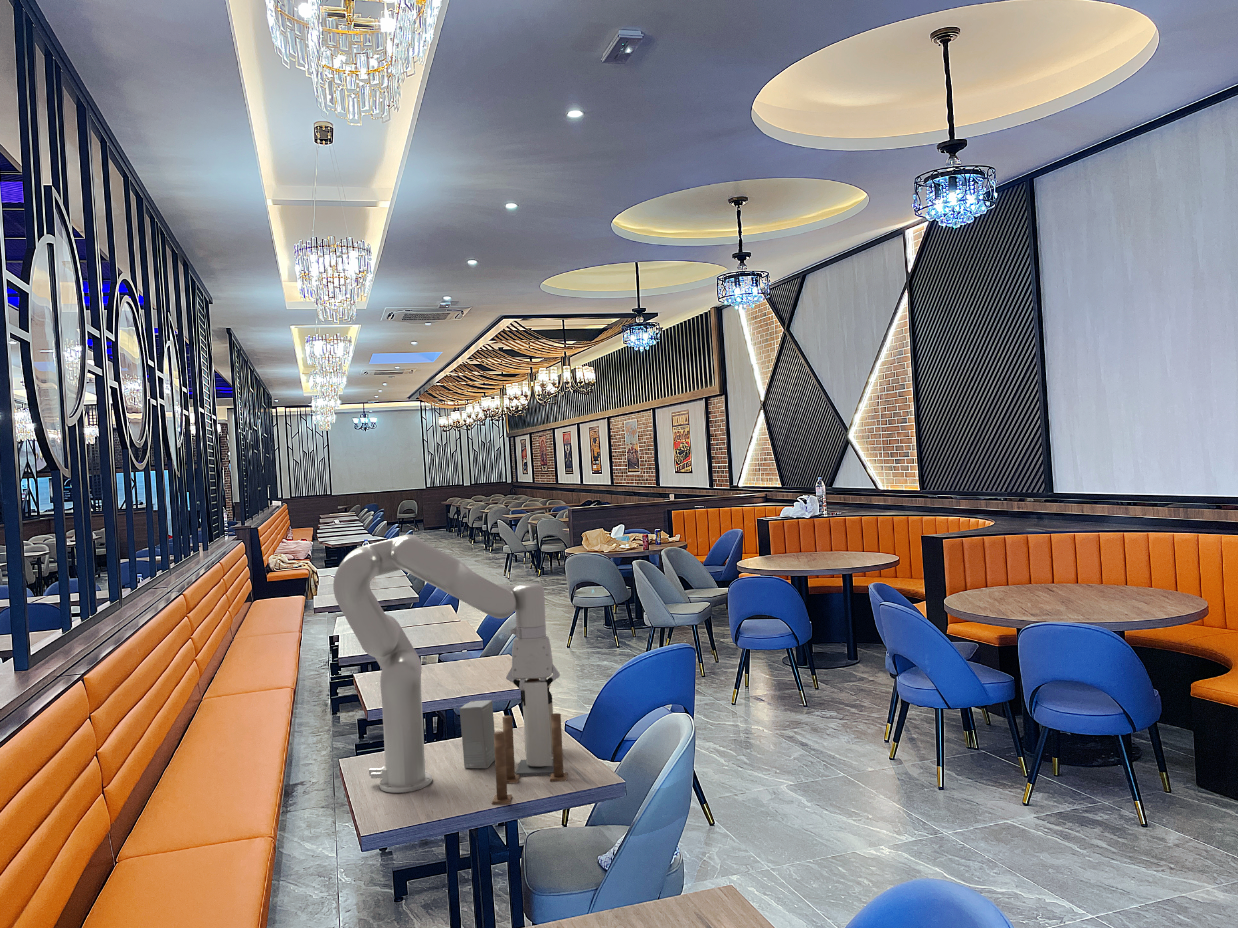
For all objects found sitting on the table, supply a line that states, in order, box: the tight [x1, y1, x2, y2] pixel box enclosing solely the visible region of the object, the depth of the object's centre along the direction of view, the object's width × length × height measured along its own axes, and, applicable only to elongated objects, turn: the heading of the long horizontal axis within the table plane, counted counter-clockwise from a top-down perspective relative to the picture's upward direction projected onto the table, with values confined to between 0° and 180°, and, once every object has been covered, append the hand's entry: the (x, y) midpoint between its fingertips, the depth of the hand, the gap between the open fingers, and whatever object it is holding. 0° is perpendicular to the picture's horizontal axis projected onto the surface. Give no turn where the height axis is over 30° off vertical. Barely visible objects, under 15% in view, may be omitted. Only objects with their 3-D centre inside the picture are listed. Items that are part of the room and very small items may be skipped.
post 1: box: [491, 730, 513, 805], centre depth 197 cm, size 4×4×16 cm
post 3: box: [549, 712, 569, 782], centre depth 210 cm, size 4×4×16 cm
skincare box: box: [459, 699, 496, 769], centre depth 224 cm, size 8×7×16 cm
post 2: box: [502, 715, 521, 784], centre depth 210 cm, size 4×4×16 cm
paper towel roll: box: [522, 678, 553, 766], centre depth 218 cm, size 7×6×21 cm
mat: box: [515, 757, 554, 777], centre depth 218 cm, size 10×10×1 cm
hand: (534, 703), depth 218 cm, fingers open, 3 cm apart
